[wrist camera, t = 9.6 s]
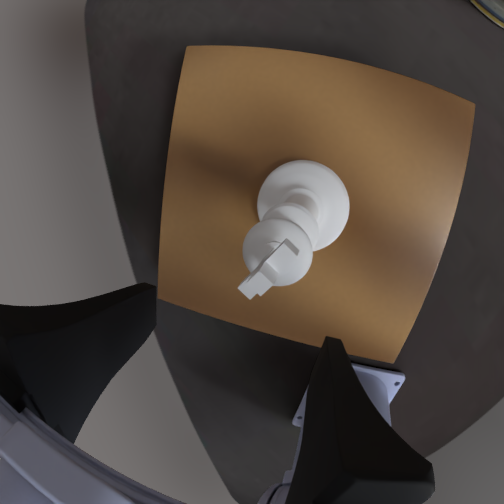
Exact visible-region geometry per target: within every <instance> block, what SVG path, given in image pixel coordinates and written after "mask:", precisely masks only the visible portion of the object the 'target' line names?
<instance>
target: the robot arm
mask: <svg viewBox="0 0 504 504" xmlns="http://www.w3.org/2000/svg"><path fill="white" fill-rule="evenodd" d="M155 326H156V286H153V285H150V284H148V283H140V284H136V285H133V286H129V287H126V288H123V289H119V290H116V291H113V292H110V293H107V294H103V295H100V296H96V297H92V298H88V299H85V300H80V301H76V302H71V303H65V304H58V305H47V306H11V305H2V304H0V458H1V460H0V504H186V503H183V502H181V501H178V500H176V499H173V498H171V497H168V496H166V495H164V494H162V493H159V492H157V491H155V490H153V489H150V488H148V487H146V486H144V485H142V484H140V483H138V482H136V481H134V480H132V479H130V478H128V477H126V476H125V475H123V474H121V473H119V472H117V471H116V470H114V469H112V468H110V467H108V466H107V465H105V464H103V463H102V462H100V461H98V460H97V459H95V458H94V457H92V456H91V455H89V454H87V453H86V452H84V451H83V450H81V449H80V448H78V447H77V446H75V445H74V442H75V440H76V438H77V436H78V433H79V432H80V430H81V428H82V425H83V424H84V422H85V420H86V418H87V416H88V415H89V413H90V411H91V409H92V408H93V406H94V405H95V403H96V401H97V400H98V398H99V396H100V395H101V394H102V392H103V391H104V389H105V388H106V386H107V385H108V383H109V382H110V380H111V379H112V378H113V377H114V376H115V374H116V373H117V372H118V371H119V370H120V369H121V368H122V367H123V366H124V364H125V363H126V362H127V361H128V360H129V359H130V358H131V357H132V356H133V354H135V352H136V351H137V350H138V349H139V348H140V347H141V346H142V344H144V342H145V341H146V340H147V338H148V337H149V335H150V334H151V332H152V331H153V329H154V328H155ZM404 380H405V375H404V374H403V373H400V372H394V371H389V370H384V369H378V368H373V367H368V366H364V365H359V364H354V363H351V362H350V359H349V357H348V355H347V352H346V350H345V347H344V345H343V342H342V341H341V339H338V338H333V337H329V336H326V337H325V339H324V342H323V345H322V347H321V350H320V352H319V355H318V357H317V360H316V363H315V365H314V367H313V370H312V372H311V376H310V381H309V385H308V387H307V389H306V392H305V394H304V396H303V398H302V401H301V403H300V405H299V407H298V410H297V412H296V414H295V416H294V418H293V421H292V424H293V425H295V426H299V427H301V430H300V435H299V440H298V445H297V449H296V454H295V458H294V462H293V467H292V470H288V471H285V475H284V478H283V482H282V483H277V484H273V485H272V486H270V487H269V488H268V489H267V490H266V491H265V492H264V494H263V495H262V497H261V498H260V500H259V501H258V503H257V504H422V503H424V502H425V501H426V500H428V499H429V498H430V497H431V496H432V494H433V493H434V491H435V481H434V473H433V467H432V463H430V462H429V461H428V460H426V459H425V458H424V457H423V456H421V455H420V454H419V453H417V452H416V451H415V450H414V449H413V448H411V447H410V446H409V445H408V444H407V443H406V442H405V441H404V440H403V439H402V438H401V437H400V436H399V435H398V434H397V433H396V432H395V431H394V430H393V429H392V427H391V419H390V409H389V403H390V402H391V400H392V399H393V397H394V396H395V394H396V393H397V391H398V390H399V388H400V386H401V385H402V383H403V382H404ZM398 381H399V382H398ZM395 382H397V383H395Z"/></svg>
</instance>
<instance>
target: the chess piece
mask: <svg viewBox="0 0 504 504" xmlns="http://www.w3.org/2000/svg"><path fill="white" fill-rule="evenodd" d="M257 211H258V216H259V220H260V222H259V223H257V224H256V225H254V226H253V227H252V228H251V229H250V230H249V232H248V233H247V235H246V237H245V239H244V242H243V249H242V252H243V259H244V262H245V264H246V266H247V268H248V270H249V271H250V274H249V275H248V276H247V277H246V278H245V279H244V280H243V281H242V282H241V284H240V285H239V287H238V289H239V290H240V291H241V292H242V293H243V294H244V295H245V296H246V297H247V298H248V299H250V300H251V299H252V298H253V297H254V296H255V295H256V294H258V295H260V296H262V295H263V294H264V293H265V292H266V291H267V290H268V289H269V288H271V287H272V286H287V285H290V284H293V283H295V282H297V281H299V280H300V279H301V278H302V277H303V276H304V275H305V274H306V273H307V271H308V270H309V268H310V266H311V263H312V257H313V251H317V250H320V249H322V248H325V247H326V246H328V245H330V244H331V243H332V242H334V241H335V240H336V239H337V238H338V236H339V235H340V234H341V232H342V231H343V229H344V227H345V225H346V223H347V220H348V216H349V197H348V193H347V190H346V188H345V186H344V184H343V182H342V181H341V179H340V178H339V177H338V176H337V175H336V174H335V173H334V172H333V171H332V170H331V169H329V168H328V167H326V166H325V165H323V164H320V163H318V162H314V161H310V160H296V161H291V162H288V163H285V164H283V165H281V166H279V167H278V168H276V169H275V170H274V171H272V172H271V173H270V174H269V176H268V177H267V178H266V180H265V181H264V183H263V185H262V187H261V189H260V192H259V195H258V201H257Z"/></svg>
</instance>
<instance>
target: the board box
mask: <svg viewBox="0 0 504 504" xmlns="http://www.w3.org/2000/svg"><path fill="white" fill-rule="evenodd" d="M474 112H475V104H474V103H472V102H470V101H468V100H466V99H464V98H461V97H459V96H457V95H454V94H452V93H450V92H447V91H445V90H442V89H440V88H437V87H435V86H432V85H430V84H427V83H424V82H421V81H419V80H416V79H413V78H410V77H407V76H404V75H401V74H398V73H394V72H391V71H388V70H384V69H381V68H377V67H373V66H369V65H366V64H362V63H357V62H353V61H349V60H344V59H339V58H334V57H329V56H324V55H318V54H312V53H306V52H299V51H291V50H283V49H273V48H262V47H248V46H218V45H205V46H187V47H186V51H185V56H184V60H183V65H182V70H181V75H180V80H179V85H178V91H177V96H176V102H175V108H174V114H173V120H172V127H171V134H170V141H169V148H168V156H167V164H166V173H165V182H164V192H163V203H162V215H161V229H160V245H159V266H158V298H159V299H161V300H164V301H167V302H170V303H173V304H175V305H178V306H181V307H184V308H187V309H190V310H193V311H196V312H199V313H202V314H205V315H208V316H211V317H214V318H218V319H221V320H224V321H227V322H230V323H234V324H237V325H240V326H244V327H247V328H250V329H254V330H257V331H261V332H264V333H268V334H271V335H275V336H278V337H282V338H286V339H289V340H293V341H297V342H301V343H305V344H309V345H312V346H316V347H322V345H323V342H324V339H325V337H326V336H329V337H333V338H338V339H341V341H342V342H343V345H344V347H345V350H346V352H347V354H350V355H355V356H359V357H364V358H369V359H373V360H378V361H383V362H388V363H394V361H395V360H396V358H397V356H398V354H399V352H400V350H401V348H402V346H403V344H404V342H405V340H406V338H407V336H408V334H409V332H410V330H411V328H412V326H413V324H414V322H415V320H416V318H417V315H418V313H419V311H420V309H421V306H422V304H423V302H424V299H425V297H426V295H427V292H428V290H429V287H430V285H431V282H432V280H433V277H434V275H435V272H436V269H437V267H438V264H439V261H440V258H441V256H442V253H443V250H444V247H445V244H446V241H447V238H448V234H449V231H450V228H451V225H452V221H453V218H454V214H455V211H456V207H457V203H458V199H459V195H460V191H461V187H462V183H463V178H464V174H465V169H466V164H467V159H468V153H469V148H470V142H471V135H472V128H473V120H474ZM296 160H310V161H314V162H318V163H320V164H323V165H325V166H326V167H328V168H329V169H331V170H332V171H333V172H334V173H335V174H336V175H337V176H338V177H339V178H340V179H341V181H342V182H343V184H344V186H345V188H346V190H347V193H348V197H349V216H348V220H347V223H346V225H345V227H344V229H343V231H342V232H341V234H340V235H339V236H338V238H337V239H336V240H335V241H334V242H332V243H331V244H330V245H328V246H326V247H325V248H322V249H320V250H317V251H313V257H312V263H311V266H310V268H309V270H308V271H307V273H306V274H305V275H304V276H303V277H302V278H301V279H300V280H299V281H297V282H295V283H293V284H290V285H287V286H272V287H271V288H269V289H268V290H267V291H266V292H265V293H264V294H263V295H262V296H260V295H258V294H256V295H255V296H254V297H253V298H252V299H251V300H250V299H248V298H247V297H246V296H245V295H244V294H243V293H242V292H241V291H240V290H239V289H238V287H239V285H240V284H241V282H242V281H243V280H244V279H245V278H246V277H247V276H248V275H249V274H250V271H249V270H248V268H247V266H246V264H245V262H244V259H243V252H242V249H243V242H244V239H245V237H246V235H247V233H248V232H249V230H250V229H251V228H252V227H253V226H254V225H256V224H257V223H259V222H260V220H259V216H258V211H257V201H258V195H259V192H260V189H261V187H262V185H263V183H264V181H265V180H266V178H267V177H268V176H269V174H270V173H271V172H272V171H274V170H275V169H276V168H278V167H279V166H281V165H283V164H285V163H288V162H291V161H296Z"/></svg>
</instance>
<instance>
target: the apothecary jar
mask: <svg viewBox="0 0 504 504" xmlns="http://www.w3.org/2000/svg"><path fill="white" fill-rule="evenodd" d="M470 1H471V2H472V3H473V4H474V5H475V6H476V7H477V8H478V9H479V10H480V11H481V12H482V13H483V14H484V15H485V16H487V17H488V18H489V19H490V20H492V21H493V22H494V23H496V24H497V25H499V26H500V27H502V28H503V29H504V0H470Z"/></svg>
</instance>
